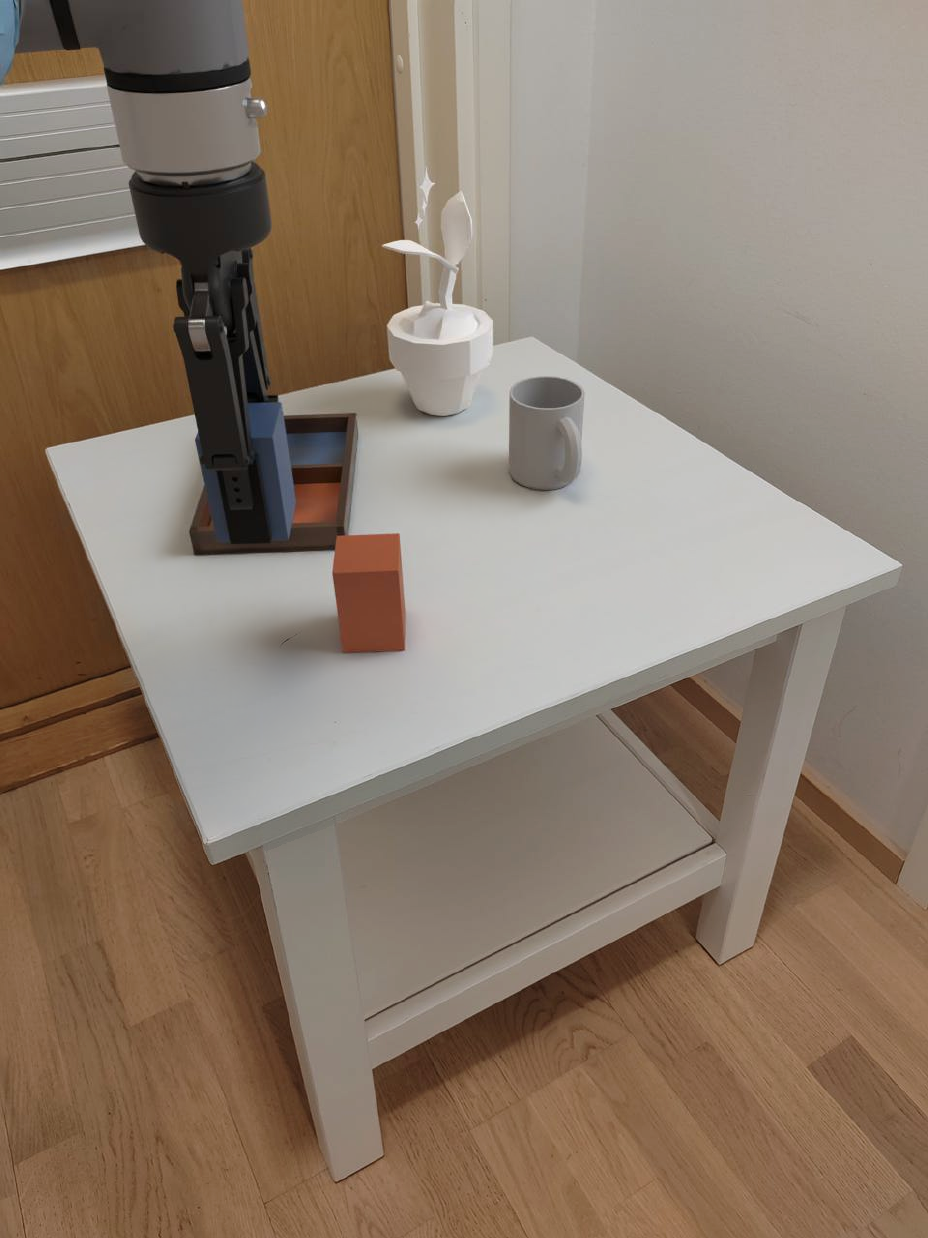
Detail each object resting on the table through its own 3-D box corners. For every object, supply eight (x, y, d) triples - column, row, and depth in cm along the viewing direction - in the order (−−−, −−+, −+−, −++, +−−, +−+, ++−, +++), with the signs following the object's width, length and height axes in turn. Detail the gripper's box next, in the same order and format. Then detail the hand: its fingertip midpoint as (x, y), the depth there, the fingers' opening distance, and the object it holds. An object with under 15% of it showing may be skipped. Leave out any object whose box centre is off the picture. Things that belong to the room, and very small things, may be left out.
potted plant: (456, 373, 116) (450, 151, 100) (513, 409, 109) (516, 175, 93) (366, 402, 111) (344, 171, 95) (418, 441, 103) (405, 198, 87)
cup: (557, 449, 101) (561, 370, 96) (606, 494, 94) (613, 412, 89) (496, 464, 99) (496, 384, 93) (542, 511, 92) (545, 428, 86)
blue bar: (216, 542, 66) (194, 439, 61) (227, 503, 70) (208, 403, 65) (288, 540, 66) (272, 437, 61) (296, 501, 70) (281, 401, 65)
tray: (194, 555, 88) (188, 531, 86) (230, 438, 105) (226, 417, 103) (346, 549, 88) (344, 525, 86) (358, 434, 105) (355, 412, 103)
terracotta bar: (342, 653, 77) (332, 573, 72) (346, 614, 80) (336, 535, 75) (405, 650, 77) (398, 570, 72) (405, 611, 81) (399, 533, 76)
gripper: (239, 213, 46) (297, 593, 61) (281, 127, 60) (320, 453, 75) (83, 216, 46) (179, 597, 61) (162, 129, 60) (224, 456, 75)
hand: (256, 517), depth 68 cm, fingers closed on blue bar, 5 cm apart
